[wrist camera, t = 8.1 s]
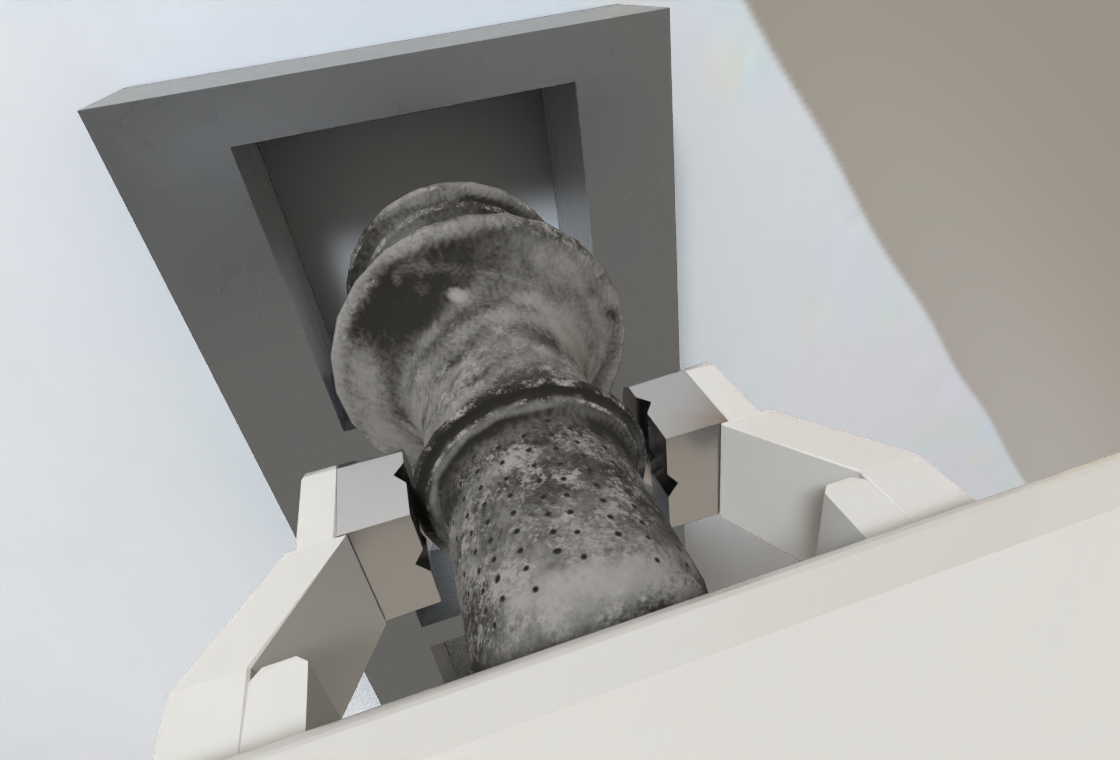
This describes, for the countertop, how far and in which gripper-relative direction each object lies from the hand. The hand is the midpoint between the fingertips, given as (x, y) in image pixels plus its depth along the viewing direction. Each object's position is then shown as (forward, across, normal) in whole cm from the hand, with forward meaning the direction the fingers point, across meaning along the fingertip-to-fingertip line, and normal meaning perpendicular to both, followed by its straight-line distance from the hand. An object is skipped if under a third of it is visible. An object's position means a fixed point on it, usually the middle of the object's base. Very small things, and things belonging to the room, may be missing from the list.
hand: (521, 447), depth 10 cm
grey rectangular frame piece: (+11, 0, +9) cm, 15 cm away
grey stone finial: (+7, 0, 0) cm, 7 cm away
